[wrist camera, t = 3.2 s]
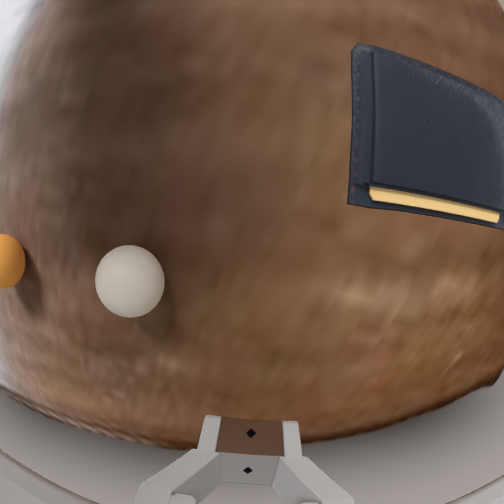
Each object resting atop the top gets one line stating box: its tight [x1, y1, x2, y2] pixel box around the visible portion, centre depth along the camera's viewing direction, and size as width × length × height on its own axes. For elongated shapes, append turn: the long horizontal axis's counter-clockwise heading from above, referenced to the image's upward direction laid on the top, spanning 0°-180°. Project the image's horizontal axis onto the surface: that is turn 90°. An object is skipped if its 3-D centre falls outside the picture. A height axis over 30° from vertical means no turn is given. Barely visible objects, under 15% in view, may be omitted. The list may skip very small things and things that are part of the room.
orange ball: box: [0, 234, 25, 288], centre depth 21 cm, size 6×6×6 cm
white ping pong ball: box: [95, 245, 165, 318], centre depth 20 cm, size 6×6×6 cm
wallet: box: [347, 43, 504, 230], centre depth 20 cm, size 20×2×15 cm
